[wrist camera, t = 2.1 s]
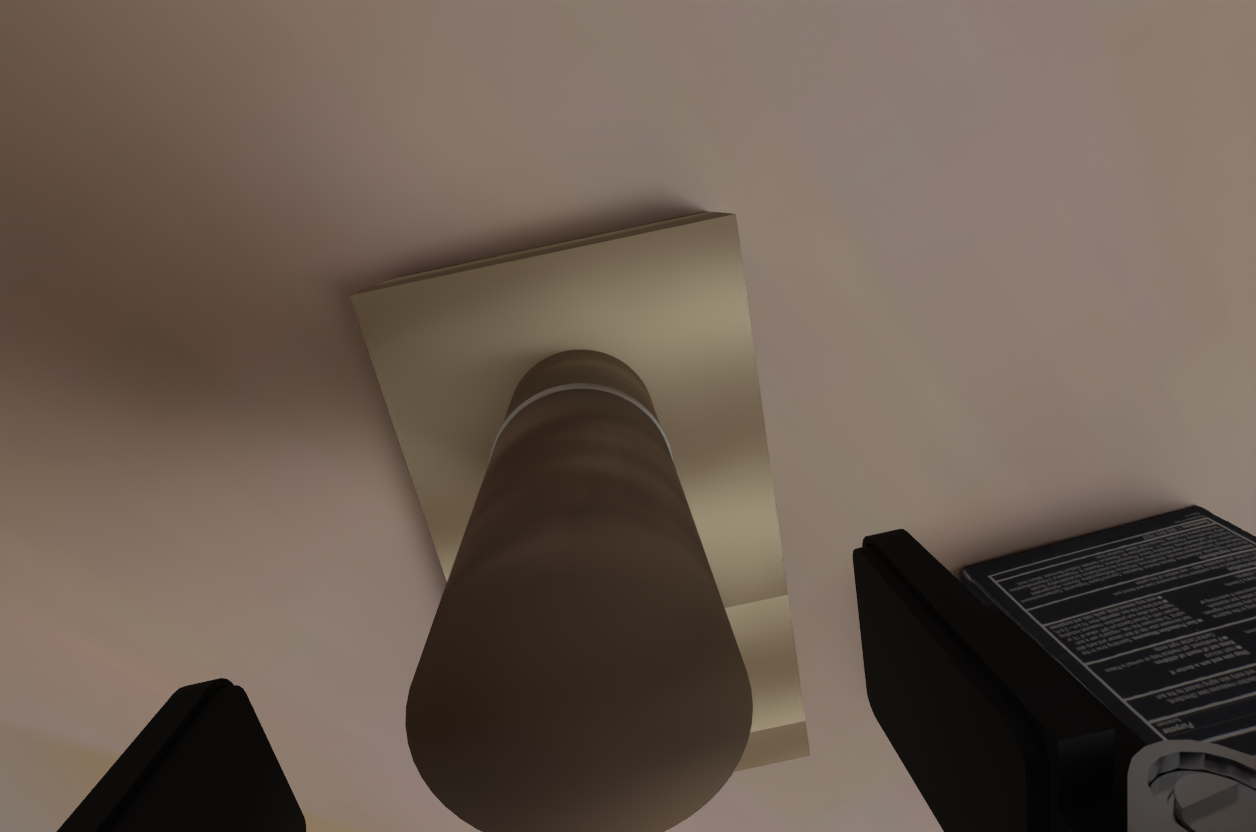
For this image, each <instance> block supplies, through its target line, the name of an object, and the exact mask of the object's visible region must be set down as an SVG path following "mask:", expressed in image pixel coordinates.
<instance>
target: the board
mask: <svg viewBox="0 0 1256 832" xmlns="http://www.w3.org/2000/svg"><path fill="white" fill-rule="evenodd" d="M350 299H351V302H352V305H353V308H354V311H355V314H356V317H357V320H358V323H359V326H360V329H361V332H362V335H363V338H364V340H365V343H366V346H367V349H368V352H369V355H370V358H371V361H372V364H373V367H374V370H375V373H376V376H377V379H378V382H379V385H380V387H381V390H382V393H383V396H384V399H385V402H386V405H387V408H388V411H389V414H390V417H391V420H392V423H393V426H394V429H395V431H396V434H397V437H398V440H399V443H400V446H401V449H402V452H403V455H404V458H405V461H406V464H407V467H408V470H409V473H410V475H411V478H412V481H413V484H414V487H415V490H416V493H417V496H418V499H419V502H420V505H421V508H422V511H423V514H424V517H425V520H426V522H427V525H428V528H429V531H430V534H431V537H432V540H433V543H434V546H435V549H436V552H437V555H438V558H439V561H440V564H441V566H442V569H443V572H444V575H445V578H446V581H448V578H449V575H450V572H451V570H452V567H453V564H454V561H455V558H456V555H457V553H458V550H459V547H460V544H461V541H462V538H463V535H464V533H465V530H466V527H467V524H468V521H469V518H470V516H471V513H472V510H473V507H474V504H475V501H476V498H477V496H478V493H479V490H480V487H481V484H482V481H483V479H484V476H485V473H486V470H487V467H488V464H489V458H490V453H491V449H492V447H493V444H494V441H495V438H496V436H497V434H498V432H499V430H500V428H501V426H502V424H503V422H504V419H505V416H506V413H507V410H508V407H509V405H510V402H511V399H512V396H513V394H514V391H515V389H516V387H517V385H518V383H519V382H520V381H521V379H522V378H523V377H524V375H525V374H526V373H527V372H528V371H529V370H530V369H531V368H532V367H533V366H535V365H536V364H537V363H539V362H540V361H542V360H544V359H545V358H547V357H549V356H552V355H554V354H557V353H560V352H564V351H569V350H594V351H598V352H602V353H606V354H608V355H611V356H613V357H615V358H617V359H619V360H621V361H622V362H624V363H625V364H626V365H628V366H629V367H630V368H631V369H632V370H633V371H634V372H635V373H636V374H637V375H638V376H639V377H640V379H641V380H642V381H643V383H644V385H645V386H646V388H647V390H648V393H649V395H650V397H651V400H652V403H653V406H654V409H655V412H656V414H657V417H658V420H659V423H660V426H661V427H662V429H663V431H664V433H665V435H666V437H667V440H668V442H669V445H670V449H671V452H672V456H673V463H674V466H675V468H676V471H677V474H678V477H679V480H680V483H681V485H682V488H683V491H684V494H685V497H686V500H687V502H688V505H689V508H690V511H691V514H692V517H693V519H694V522H695V525H696V528H697V531H698V534H699V537H700V539H701V542H702V545H703V548H704V551H705V554H706V556H707V559H708V562H709V565H710V568H711V571H712V573H713V576H714V579H715V582H716V585H717V588H718V591H719V593H720V596H721V599H722V602H723V605H724V608H725V610H726V613H727V616H728V619H729V622H730V625H731V627H732V630H733V633H734V636H735V639H736V642H737V644H738V647H739V650H740V653H741V656H742V659H743V662H744V664H745V667H746V670H747V673H748V677H749V681H750V685H751V689H752V700H753V715H752V726H751V730H750V734H749V738H748V742H747V745H746V747H745V750H744V752H743V755H742V757H741V760H740V761H739V763H738V765H737V767H736V768H735V770H734V772H735V771H739V770H744V769H749V768H753V767H758V766H763V765H767V764H772V763H777V762H782V761H786V760H791V759H796V758H800V757H805V756H810V751H809V744H808V737H807V729H806V722H805V715H804V707H803V700H802V693H801V686H800V678H799V671H798V664H797V657H796V649H795V642H794V635H793V627H792V620H791V613H790V606H789V598H788V591H787V584H786V577H785V569H784V562H783V555H782V547H781V540H780V533H779V526H778V518H777V511H776V504H775V497H774V489H773V482H772V475H771V467H770V460H769V453H768V446H767V438H766V431H765V424H764V417H763V409H762V402H761V395H760V387H759V380H758V373H757V366H756V358H755V351H754V344H753V337H752V329H751V322H750V315H749V308H748V300H747V293H746V286H745V278H744V271H743V264H742V257H741V249H740V242H739V235H738V228H737V220H736V214H731V213H719V212H704V213H700V214H695V215H690V216H685V217H681V218H676V219H671V220H667V221H662V222H657V223H652V224H648V225H643V226H638V227H633V228H629V229H624V230H619V231H614V232H610V233H605V234H600V235H596V236H591V237H586V238H581V239H577V240H572V241H567V242H562V243H558V244H553V245H548V246H544V247H539V248H534V249H529V250H525V251H520V252H515V253H510V254H506V255H501V256H496V257H491V258H487V259H482V260H477V261H473V262H468V263H463V264H458V265H454V266H449V267H444V268H439V269H435V270H430V271H425V272H420V273H416V274H411V275H406V276H402V277H397V278H392V279H388V280H386V281H384V282H381V283H379V284H376V285H374V286H371V287H369V288H367V289H364V290H362V291H359V292H357V293H354V294H352V295H350Z"/></svg>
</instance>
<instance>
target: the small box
mask: <svg viewBox="0 0 1256 832" xmlns="http://www.w3.org/2000/svg"><path fill="white" fill-rule="evenodd" d="M961 580H962V581H961V583H962V584H963V585H964V586H965V587H966V588H967V589H968V590H969V591H970V592H971V593H972V594H973V595H974V596H975V597H977V598H978V599H979V600H980V601H981V602H982V603H983V604H991V605H995V606H996V607H997V608H999V609H1000V610H1002V611H1003V612H1004V613H1005V614H1006V615H1007V616H1008V617H1010V618H1011V619H1012V620H1013V621H1014V622H1015V623H1016V624H1017V625H1018V626H1019V627H1020V628H1021V629H1023V630H1024V631H1025V632H1026V633H1027V634H1028V635H1029V636H1030V637H1031V638H1032V639H1033V640H1034V641H1036V642H1037V643H1038V644H1039V645H1040V646H1041V647H1042V648H1043V649H1044V650H1045V651H1046V652H1047V653H1049V654H1050V655H1051V656H1052V657H1053V658H1054V659H1055V660H1056V661H1057V662H1058V663H1059V664H1061V665H1062V666H1063V667H1064V668H1065V669H1066V670H1067V671H1068V672H1069V673H1070V674H1071V675H1072V676H1074V677H1075V678H1076V679H1077V680H1078V681H1079V682H1080V683H1081V684H1082V685H1083V686H1084V687H1085V688H1087V689H1088V690H1089V691H1090V692H1091V693H1092V694H1093V695H1094V696H1095V697H1096V698H1097V699H1098V700H1100V701H1101V702H1102V703H1103V704H1104V705H1105V706H1106V707H1107V708H1108V709H1109V710H1110V711H1111V712H1113V713H1114V714H1115V715H1116V716H1117V717H1118V718H1119V719H1120V720H1121V721H1122V722H1123V723H1125V724H1126V725H1127V726H1128V727H1129V728H1130V729H1131V730H1132V731H1133V732H1134V733H1135V734H1136V735H1138V736H1139V737H1140V738H1141V739H1142V740H1143V741H1144V742H1145V743H1146V744H1147V745H1151V744H1154V743H1157V742H1160V741H1163V740H1195V741H1201V742H1207V743H1213V744H1218V745H1221V746H1224V747H1227V748H1230V749H1233V750H1236V751H1239V752H1242V753H1245V754H1248V755H1250V756H1252V757H1254V758H1256V537H1255V536H1253V535H1251V534H1250V533H1248V532H1246V531H1243V530H1242V529H1241V528H1239V527H1237V526H1235V525H1233V524H1231V523H1229V522H1228V521H1225V520H1223V519H1221V518H1220V517H1218V516H1215V515H1214V514H1212V513H1211V512H1209V511H1207V510H1206V509H1204V508H1202V507H1199V506H1197V507H1192V508H1189V509H1185V510H1181V511H1177V512H1173V513H1168V514H1165V515H1161V516H1158V517H1154V518H1150V519H1147V520H1143V521H1139V522H1136V523H1132V524H1128V525H1124V526H1121V527H1117V528H1113V529H1109V530H1106V531H1102V532H1098V533H1094V534H1090V535H1086V536H1083V537H1080V538H1076V539H1072V540H1068V541H1064V542H1060V543H1057V544H1053V545H1049V546H1045V547H1043V548H1038V549H1034V550H1030V551H1027V552H1023V553H1019V554H1015V555H1012V556H1008V557H1004V558H1001V559H997V560H993V561H990V562H985V563H982V564H978V565H975V566H971V567H967V568H964V570H963V572H962V574H961Z"/></svg>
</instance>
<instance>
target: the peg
mask: <svg viewBox="0 0 1256 832" xmlns="http://www.w3.org/2000/svg"><path fill="white" fill-rule="evenodd" d="M752 715H753V700H752V689H751V685H750V681H749V677H748V673H747V670H746V667H745V664H744V662H743V659H742V656H741V653H740V650H739V647H738V644H737V642H736V639H735V636H734V633H733V630H732V627H731V625H730V622H729V619H728V616H727V613H726V610H725V608H724V605H723V602H722V599H721V596H720V593H719V591H718V588H717V585H716V582H715V579H714V576H713V573H712V571H711V568H710V565H709V562H708V559H707V556H706V554H705V551H704V548H703V545H702V542H701V539H700V537H699V534H698V531H697V528H696V525H695V522H694V519H693V517H692V514H691V511H690V508H689V505H688V502H687V500H686V497H685V494H684V491H683V488H682V485H681V483H680V480H679V477H678V474H677V471H676V468H675V466H674V463H673V456H672V452H671V449H670V445H669V442H668V440H667V437H666V435H665V433H664V431H663V429H662V427H661V426H660V423H659V420H658V417H657V414H656V412H655V409H654V406H653V403H652V400H651V397H650V395H649V393H648V390H647V388H646V386H645V385H644V383H643V381H642V380H641V379H640V377H639V376H638V375H637V374H636V373H635V372H634V371H633V370H632V369H631V368H630V367H629V366H628V365H626V364H625V363H624V362H622V361H621V360H619V359H617V358H615V357H613V356H611V355H608V354H606V353H602V352H598V351H594V350H569V351H564V352H560V353H557V354H554V355H552V356H549V357H547V358H545V359H544V360H542V361H540V362H539V363H537V364H536V365H535V366H533V367H532V368H531V369H530V370H529V371H528V372H527V373H526V374H525V375H524V377H523V378H522V379H521V381H520V382H519V383H518V385H517V387H516V389H515V391H514V394H513V396H512V399H511V402H510V405H509V407H508V410H507V413H506V416H505V419H504V422H503V424H502V426H501V428H500V430H499V432H498V434H497V436H496V438H495V441H494V444H493V447H492V449H491V453H490V458H489V464H488V467H487V470H486V473H485V476H484V479H483V481H482V484H481V487H480V490H479V493H478V496H477V498H476V501H475V504H474V507H473V510H472V513H471V516H470V518H469V521H468V524H467V527H466V530H465V533H464V535H463V538H462V541H461V544H460V547H459V550H458V553H457V555H456V558H455V561H454V564H453V567H452V570H451V572H450V575H449V578H448V581H447V584H446V587H445V590H444V592H443V595H442V598H441V601H440V604H439V607H438V610H437V612H436V615H435V618H434V621H433V624H432V627H431V629H430V632H429V635H428V638H427V641H426V644H425V647H424V649H423V652H422V655H421V658H420V661H419V664H418V666H417V669H416V672H415V675H414V678H413V681H412V684H411V686H410V690H409V695H408V700H407V705H406V732H407V739H408V745H409V748H410V751H411V754H412V758H413V761H414V763H415V765H416V767H417V769H418V771H419V773H420V775H421V777H422V779H423V780H424V781H425V783H426V784H427V786H428V787H429V788H430V790H431V791H432V793H433V794H434V795H435V796H436V797H437V798H438V799H439V800H440V801H441V802H442V803H443V804H444V805H445V807H447V808H448V809H449V810H450V811H452V812H453V813H454V814H455V815H457V816H458V817H459V818H460V819H462V820H463V821H465V822H467V823H468V824H470V825H471V826H473V827H475V828H476V829H478V830H480V831H482V832H664V831H666V830H668V829H670V828H672V827H674V826H676V825H677V824H679V823H680V822H682V821H684V820H685V819H687V818H688V817H690V816H691V815H693V814H694V813H695V812H697V811H698V810H699V809H700V808H702V807H703V806H704V805H705V804H707V803H708V802H709V801H710V800H711V799H712V798H713V797H714V796H715V795H716V794H717V793H718V792H719V790H720V789H721V788H722V787H723V786H724V784H725V783H726V782H727V780H728V779H729V778H730V776H731V775H732V773H733V772H734V770H735V768H736V767H737V765H738V763H739V761H740V760H741V757H742V755H743V752H744V750H745V747H746V745H747V742H748V738H749V734H750V730H751V726H752Z"/></svg>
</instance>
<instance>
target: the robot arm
mask: <svg viewBox="0 0 1256 832" xmlns="http://www.w3.org/2000/svg"><path fill="white" fill-rule="evenodd" d="M862 546H863V547H861V548H857V549H854V551H853V564H854V574H855V583H856V593H857V602H858V612H859V621H860V631H861V640H862V650H863V659H864V669H865V678H866V688H867V695H868V699H869V702H870V705H871V708H872V711H873V713H874V715H875V717H876V719H877V721H878V722H879V724H880V726H881V727H882V729H883V731H884V732H885V734H886V736H887V737H888V739H889V741H890V742H891V744H892V746H893V747H894V749H895V751H896V752H897V754H898V756H899V757H900V759H901V761H902V762H903V764H904V766H905V767H906V769H907V771H908V772H909V774H910V776H911V777H912V779H913V781H914V782H915V784H916V786H917V787H918V789H919V791H920V792H921V794H922V796H923V797H924V799H925V801H926V802H927V804H928V806H929V807H930V809H931V811H932V812H933V814H934V816H935V817H936V819H937V821H938V822H939V824H940V826H941V827H942V829H943V831H944V832H1256V758H1254V757H1252V756H1250V755H1248V754H1245V753H1242V752H1239V751H1236V750H1233V749H1230V748H1227V747H1224V746H1221V745H1218V744H1213V743H1207V742H1201V741H1195V740H1163V741H1160V742H1157V743H1154V744H1151V745H1147V744H1146V743H1145V742H1144V741H1143V740H1142V739H1141V738H1140V737H1139V736H1138V735H1136V734H1135V733H1134V732H1133V731H1132V730H1131V729H1130V728H1129V727H1128V726H1127V725H1126V724H1125V723H1123V722H1122V721H1121V720H1120V719H1119V718H1118V717H1117V716H1116V715H1115V714H1114V713H1113V712H1111V711H1110V710H1109V709H1108V708H1107V707H1106V706H1105V705H1104V704H1103V703H1102V702H1101V701H1100V700H1098V699H1097V698H1096V697H1095V696H1094V695H1093V694H1092V693H1091V692H1090V691H1089V690H1088V689H1087V688H1085V687H1084V686H1083V685H1082V684H1081V683H1080V682H1079V681H1078V680H1077V679H1076V678H1075V677H1074V676H1072V675H1071V674H1070V673H1069V672H1068V671H1067V670H1066V669H1065V668H1064V667H1063V666H1062V665H1061V664H1059V663H1058V662H1057V661H1056V660H1055V659H1054V658H1053V657H1052V656H1051V655H1050V654H1049V653H1047V652H1046V651H1045V650H1044V649H1043V648H1042V647H1041V646H1040V645H1039V644H1038V643H1037V642H1036V641H1034V640H1033V639H1032V638H1031V637H1030V636H1029V635H1028V634H1027V633H1026V632H1025V631H1024V630H1023V629H1021V628H1020V627H1019V626H1018V625H1017V624H1016V623H1015V622H1014V621H1013V620H1012V619H1011V618H1010V617H1008V616H1007V615H1006V614H1005V613H1004V612H1003V611H1002V610H1000V609H999V608H997V607H996V606H995V605H991V604H983V603H982V602H981V601H980V600H979V599H978V598H977V597H975V596H974V595H973V594H972V593H971V592H970V591H969V590H968V589H967V588H966V587H965V586H964V585H963V584H962V583H961V582H960V581H959V580H958V579H957V578H955V577H954V576H953V575H952V574H951V573H950V572H949V571H948V570H947V569H946V568H945V567H944V566H943V565H942V564H941V563H940V562H939V561H938V560H936V559H935V558H934V557H933V556H932V555H931V554H930V553H929V552H928V551H927V550H926V549H925V548H924V547H923V546H922V545H921V544H920V543H919V542H917V541H916V540H915V539H914V538H913V537H912V536H911V535H910V534H909V533H908V532H907V531H905V530H904V529H898V530H893V531H889V532H884V533H879V534H875V535H870V536H866V537H865V538H864V539H863V544H862ZM57 832H306V822H305V818H304V816H303V813H302V811H301V809H300V807H299V805H298V803H297V801H296V798H295V796H294V794H293V792H292V790H291V788H290V786H289V784H288V781H287V779H286V777H285V775H284V773H283V771H282V769H281V767H280V764H279V762H278V760H277V758H276V756H275V754H274V752H273V750H272V747H271V745H270V743H269V741H268V739H267V737H266V735H265V733H264V730H263V728H262V726H261V724H260V722H259V720H258V718H257V716H256V713H255V711H254V709H253V707H252V705H251V703H250V701H249V698H248V696H247V694H246V692H245V691H244V689H243V688H241V687H240V686H236V685H233V684H232V682H230V681H229V680H227V679H223V678H220V679H215V680H211V681H206V682H202V683H197V684H193V685H188V686H185V687H182V688H179V689H178V690H177V691H176V692H175V693H174V694H173V695H172V696H171V697H170V698H169V700H168V701H167V702H166V703H165V704H164V705H163V707H162V708H161V709H160V710H159V711H158V713H157V714H156V715H155V716H154V717H153V718H152V720H151V721H150V722H149V723H148V724H147V726H146V727H145V728H144V729H143V730H142V731H141V733H140V734H139V735H138V736H137V737H136V739H135V740H134V741H133V742H132V743H131V744H130V746H129V747H128V748H127V749H126V750H125V752H124V753H123V754H122V755H121V756H120V757H119V759H118V760H117V761H116V762H115V763H114V765H113V766H112V767H111V768H110V769H109V771H108V772H107V773H106V774H105V775H104V776H103V778H102V779H101V780H100V781H99V782H98V784H97V785H96V786H95V787H94V788H93V789H92V791H91V792H90V793H89V794H88V795H87V797H86V798H85V799H84V800H83V801H82V802H81V804H80V805H79V806H78V807H77V808H76V810H75V811H74V812H73V813H72V814H71V815H70V817H69V818H68V819H67V820H66V821H65V822H64V824H63V825H62V826H61V827H60V829H59V830H58V831H57Z"/></svg>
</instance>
